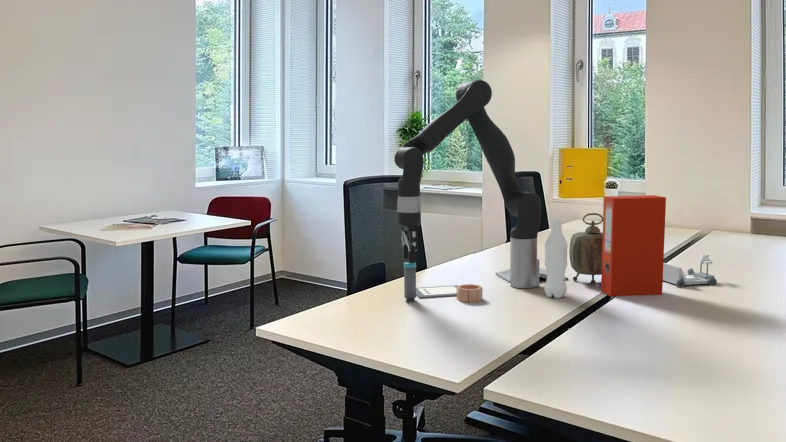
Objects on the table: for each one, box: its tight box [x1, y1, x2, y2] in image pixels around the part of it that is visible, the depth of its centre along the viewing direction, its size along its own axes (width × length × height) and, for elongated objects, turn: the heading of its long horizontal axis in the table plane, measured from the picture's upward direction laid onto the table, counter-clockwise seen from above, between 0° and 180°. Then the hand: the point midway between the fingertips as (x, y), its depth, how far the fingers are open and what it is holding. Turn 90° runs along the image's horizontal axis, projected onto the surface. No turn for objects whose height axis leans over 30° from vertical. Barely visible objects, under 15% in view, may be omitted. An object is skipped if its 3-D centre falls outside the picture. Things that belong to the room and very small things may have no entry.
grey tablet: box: [416, 284, 459, 299], centre depth 213 cm, size 17×13×1 cm
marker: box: [403, 261, 417, 303], centre depth 202 cm, size 4×4×12 cm
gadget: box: [495, 267, 569, 284], centre depth 233 cm, size 22×6×15 cm
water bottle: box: [543, 219, 569, 299], centre depth 203 cm, size 7×7×25 cm
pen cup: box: [456, 283, 483, 303], centre depth 203 cm, size 8×8×4 cm
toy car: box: [663, 253, 718, 288], centre depth 221 cm, size 18×10×12 cm
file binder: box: [600, 194, 667, 298], centre depth 205 cm, size 8×17×32 cm, turn 95°
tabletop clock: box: [568, 212, 603, 285], centre depth 221 cm, size 14×9×25 cm, turn 84°
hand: (409, 260), depth 201 cm, fingers open, 8 cm apart
